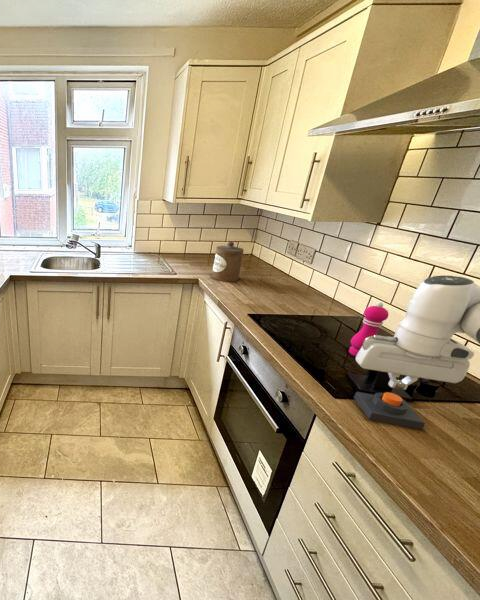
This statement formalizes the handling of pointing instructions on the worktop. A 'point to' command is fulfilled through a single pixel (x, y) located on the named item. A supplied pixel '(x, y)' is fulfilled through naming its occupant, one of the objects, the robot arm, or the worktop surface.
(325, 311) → the worktop surface
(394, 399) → the button
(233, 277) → the wooden container
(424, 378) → the lever
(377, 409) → the button block
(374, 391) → the bracket
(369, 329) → the pepper mill
